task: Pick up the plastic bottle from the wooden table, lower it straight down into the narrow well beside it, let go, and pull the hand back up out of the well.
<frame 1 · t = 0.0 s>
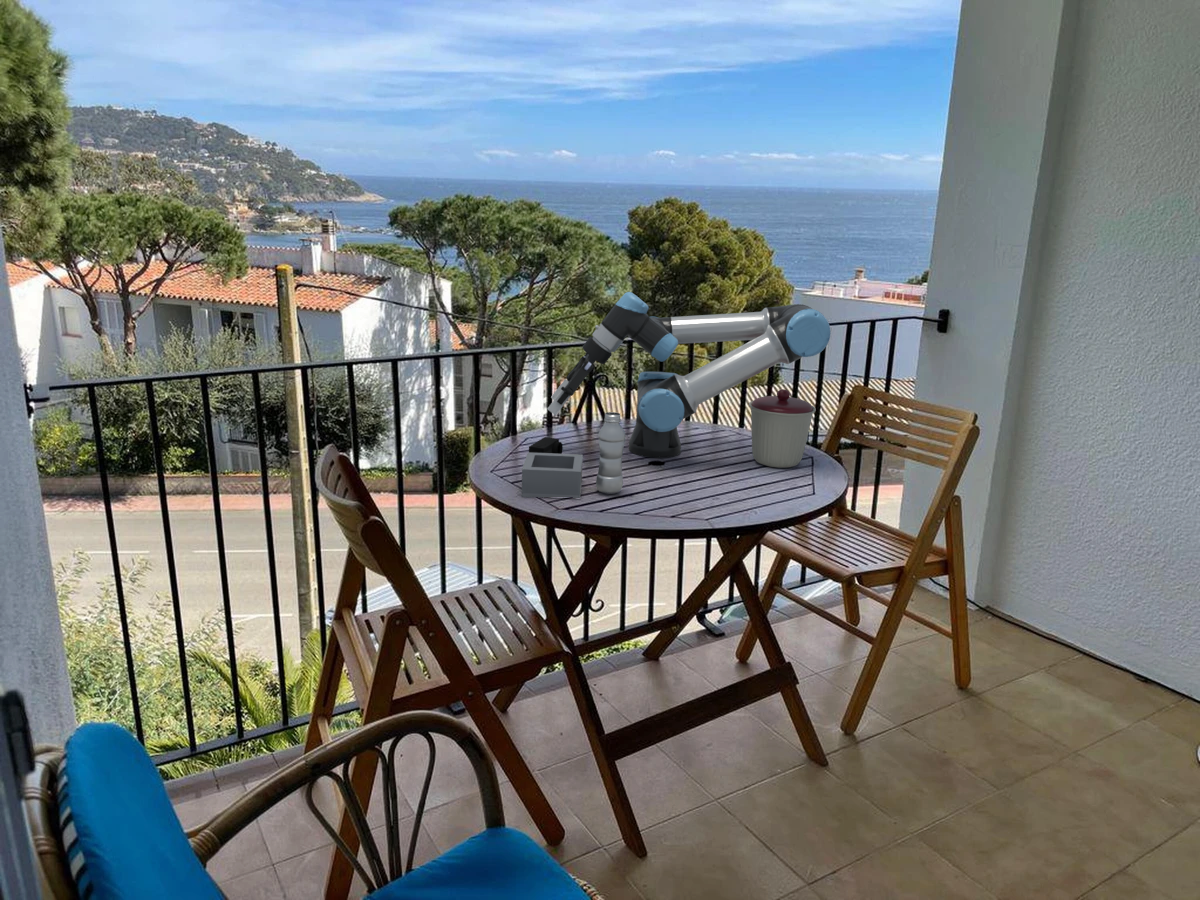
hand: (553, 406, 229), 15 cm above the table, tool tilted 35°, fingers open, 13 cm apart
canister: (776, 463, 239), on the table
plastic bottle: (609, 493, 209), on the table
digital camera: (545, 468, 227), on the table
well: (552, 488, 210), on the table
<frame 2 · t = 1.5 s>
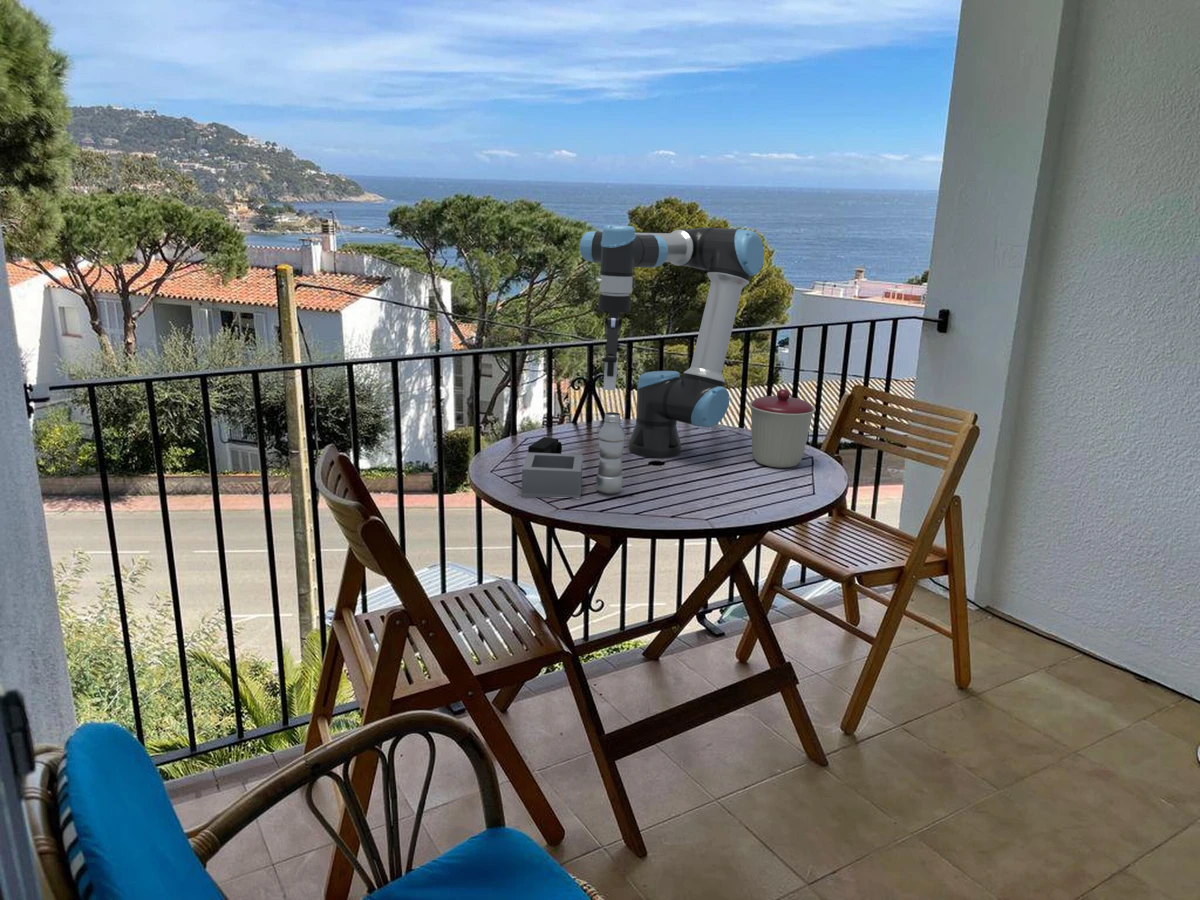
hand: (610, 384, 202), 27 cm above the table, tool pointing down, fingers open, 13 cm apart
nothing on the table moved.
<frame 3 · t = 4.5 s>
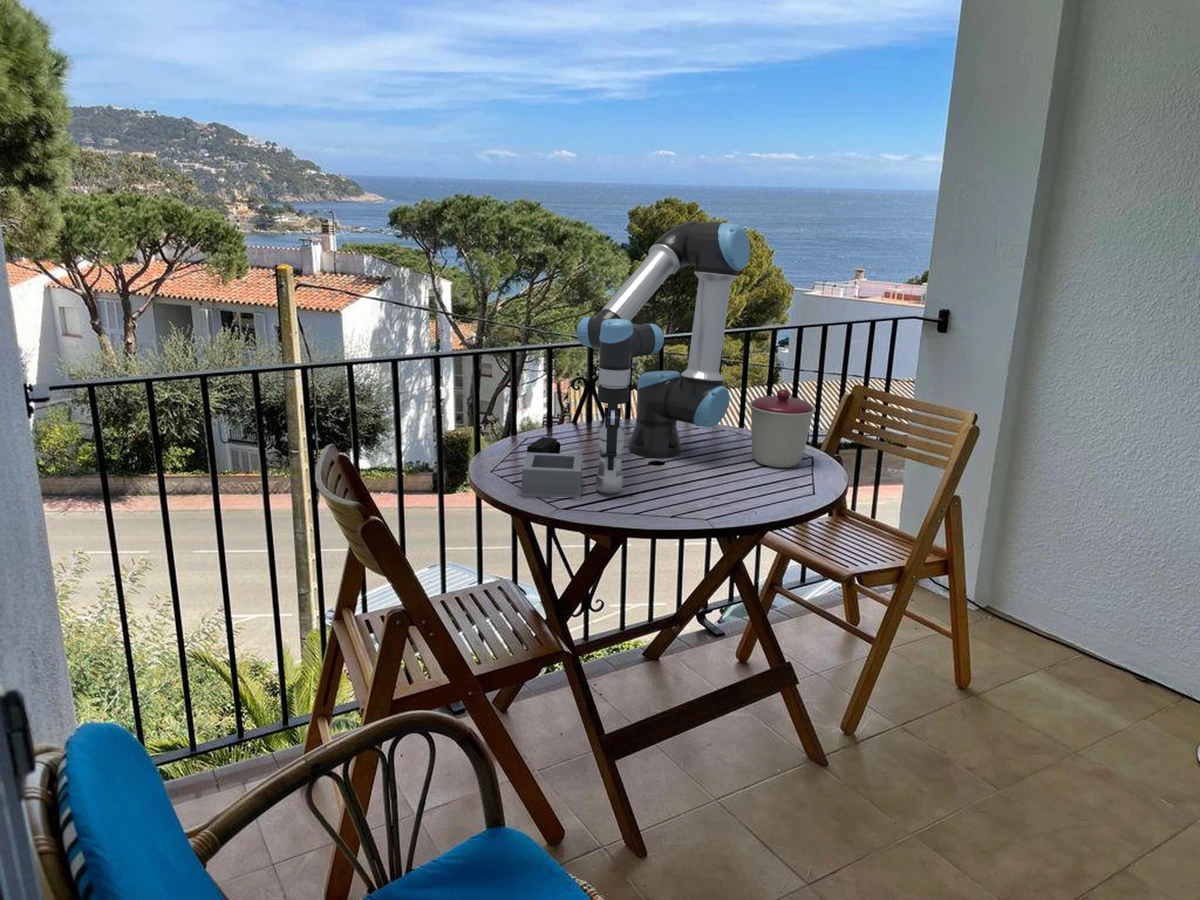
hand: (609, 477, 208), 4 cm above the table, tool pointing down, fingers closed on plastic bottle, 6 cm apart
plastic bottle: (609, 493, 209), on the table, touching gripper
everything else where it was.
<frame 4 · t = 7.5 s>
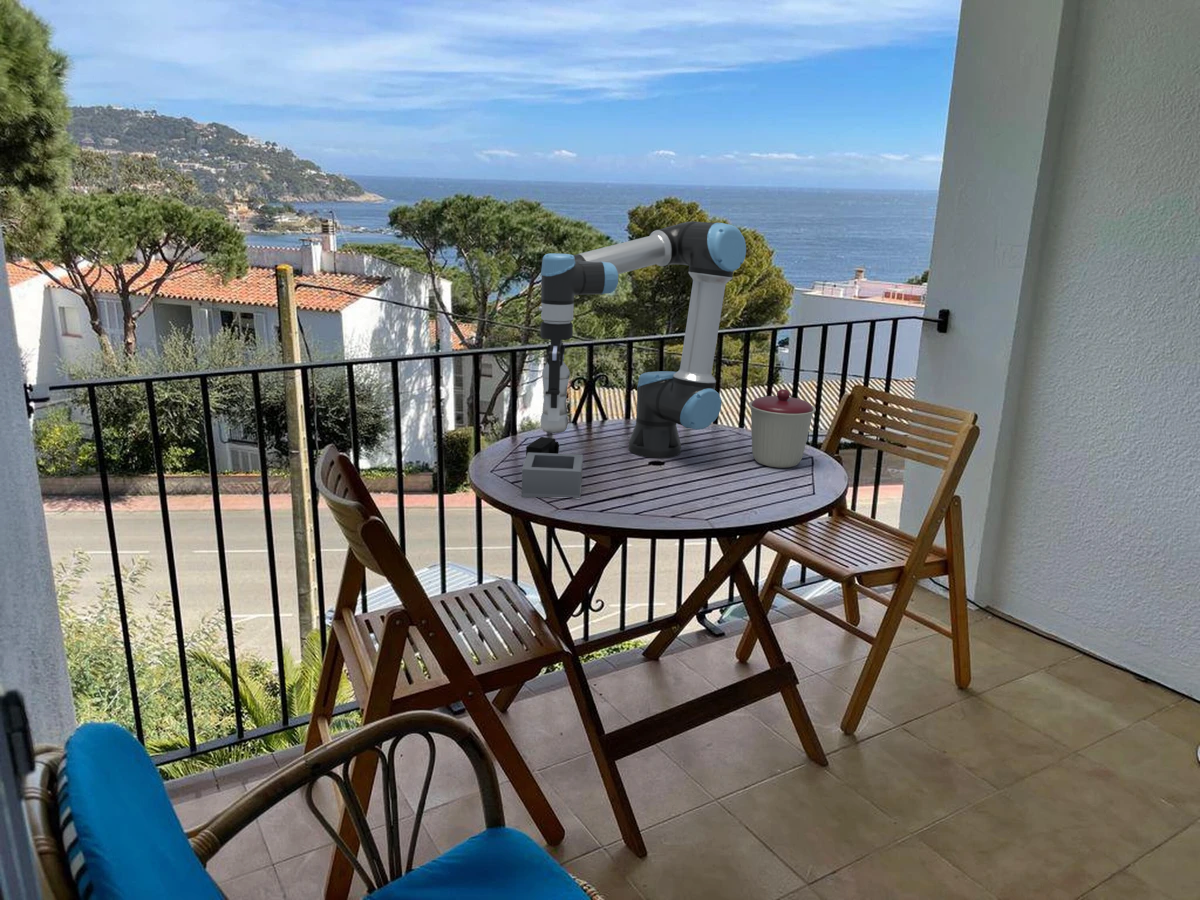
hand: (554, 416, 205), 18 cm above the table, tool pointing down, fingers closed on plastic bottle, 6 cm apart
plastic bottle: (554, 433, 206), point 14 cm above the table, touching gripper
everything else where it was.
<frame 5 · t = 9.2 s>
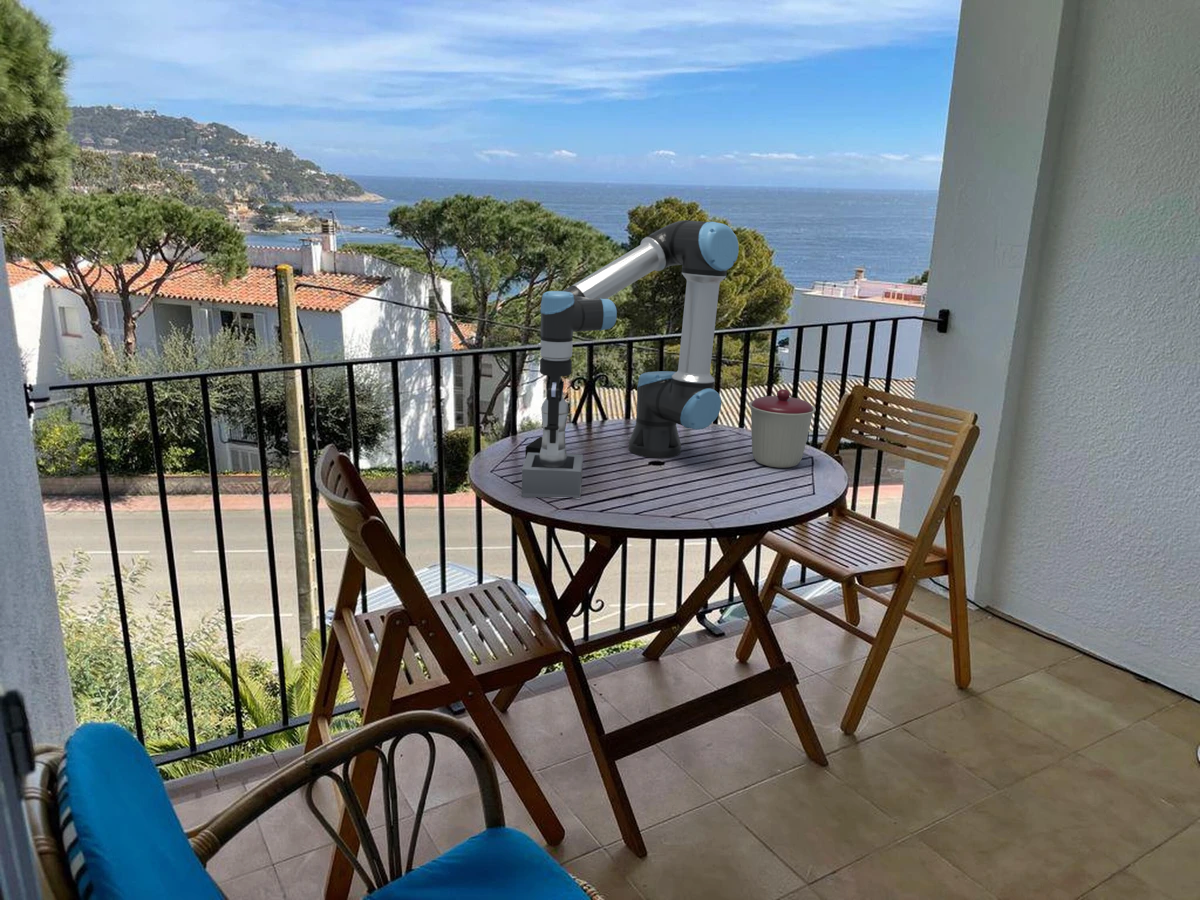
hand: (553, 451, 208), 10 cm above the table, tool pointing down, fingers closed on plastic bottle, 6 cm apart
plastic bottle: (552, 467, 209), point 6 cm above the table, touching gripper
when the fingers open (7 cm above the table, at t = 10.6 s): plastic bottle drops 2 cm, resting on well.
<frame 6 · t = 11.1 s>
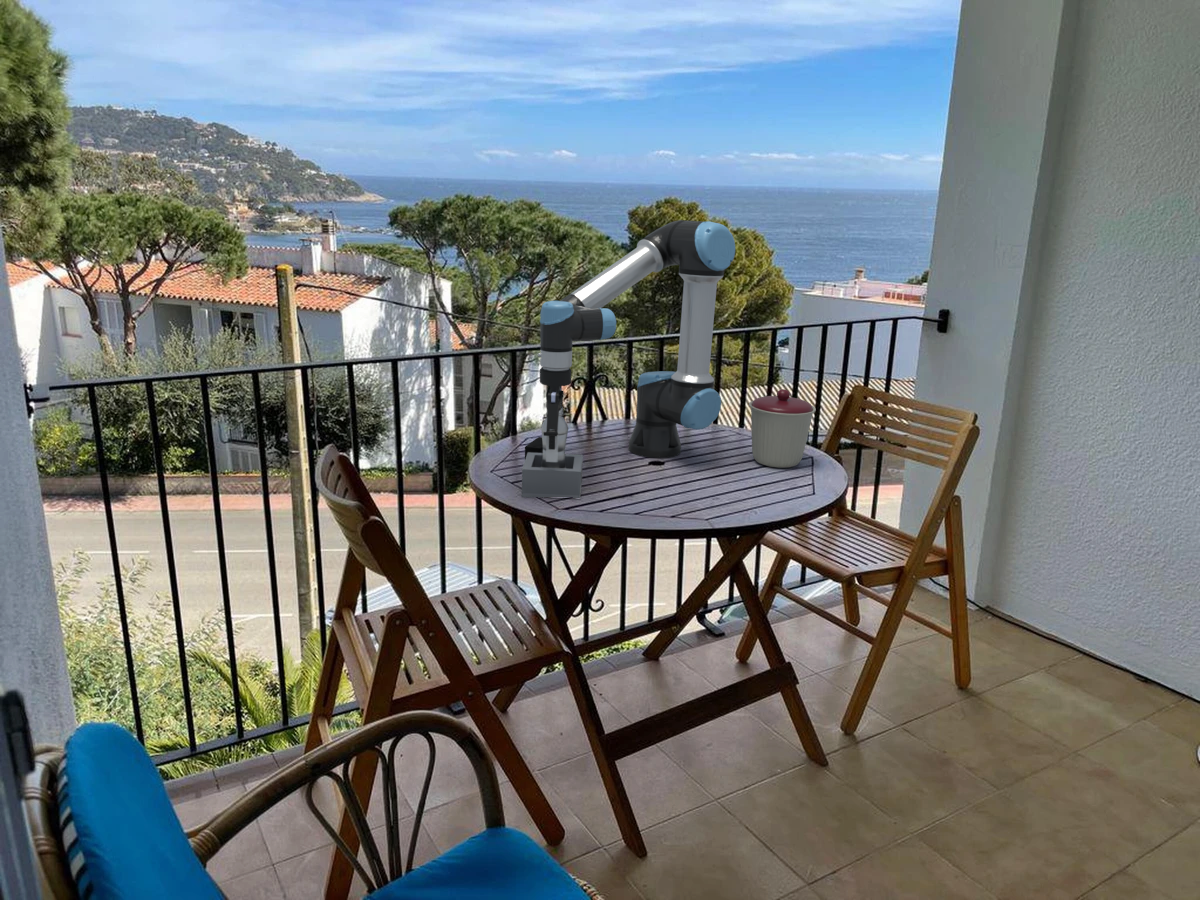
hand: (553, 453, 208), 9 cm above the table, tool pointing down, fingers open, 13 cm apart
plastic bottle: (552, 485, 210), point 1 cm above the table, touching well
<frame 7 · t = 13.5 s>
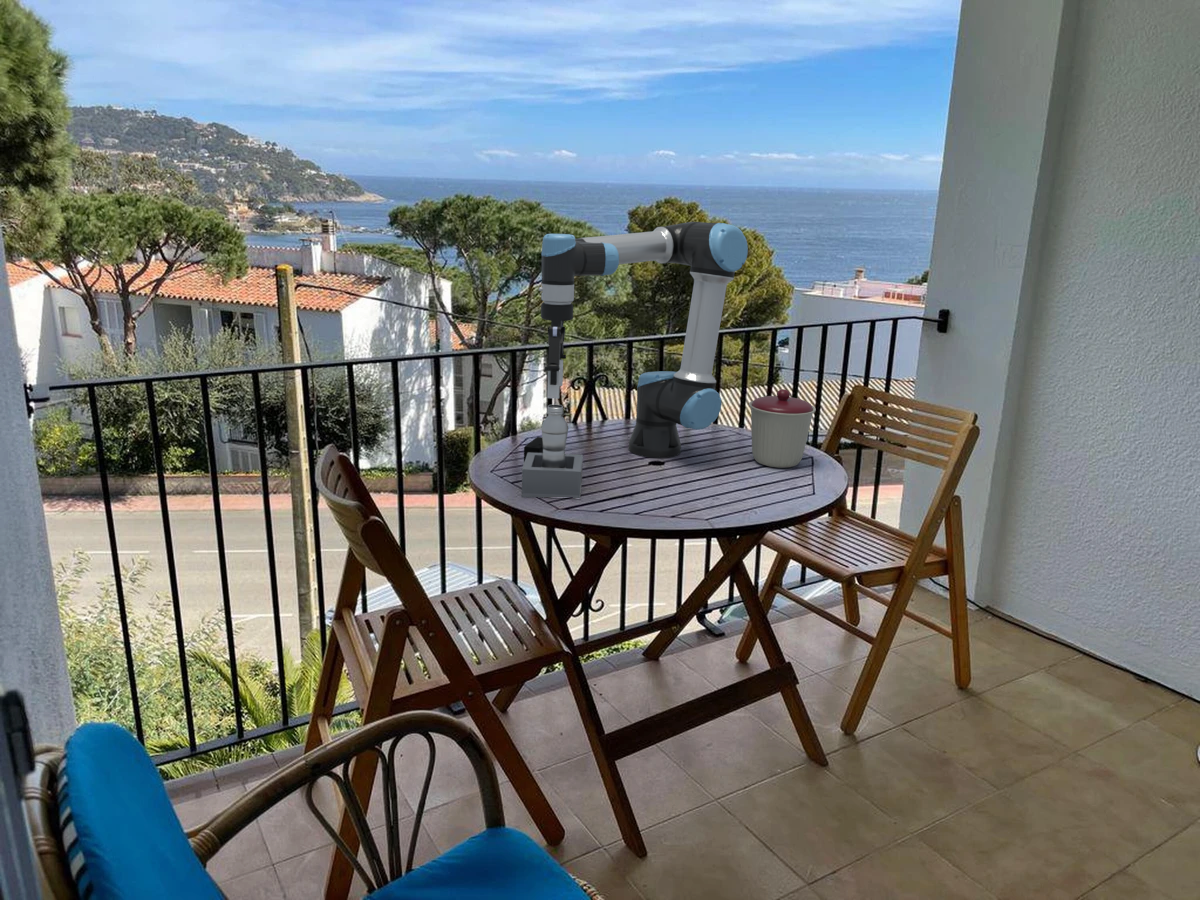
hand: (555, 391, 203), 25 cm above the table, tool pointing down, fingers open, 13 cm apart
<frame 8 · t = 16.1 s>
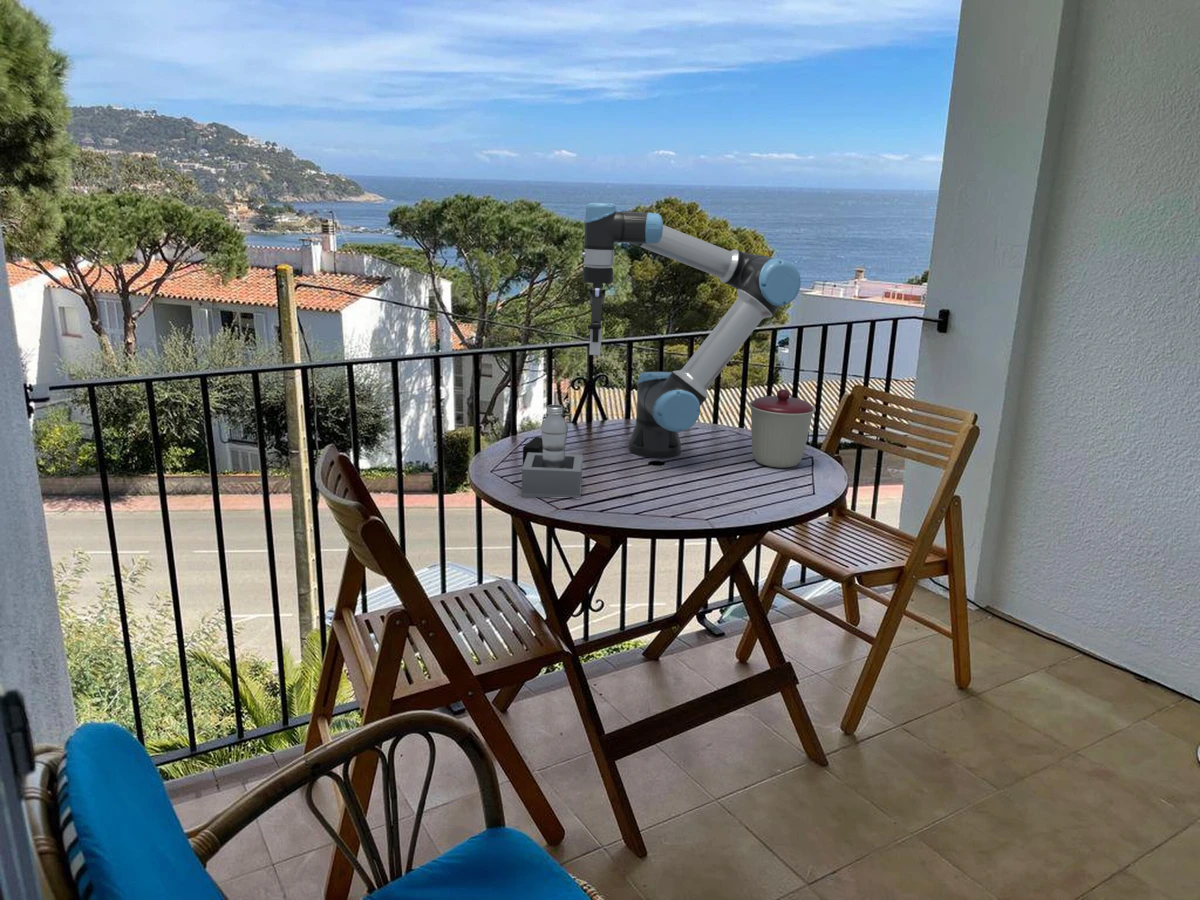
hand: (595, 350, 220), 32 cm above the table, tool pointing down, fingers open, 13 cm apart
at the end: plastic bottle 0.0 cm off-centre on the well, point 0.8 cm above the well's base; plastic bottle tilted 0°; the gripper is holding nothing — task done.
